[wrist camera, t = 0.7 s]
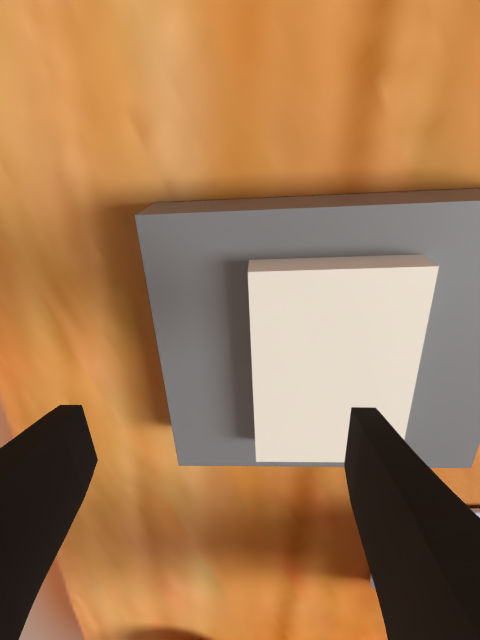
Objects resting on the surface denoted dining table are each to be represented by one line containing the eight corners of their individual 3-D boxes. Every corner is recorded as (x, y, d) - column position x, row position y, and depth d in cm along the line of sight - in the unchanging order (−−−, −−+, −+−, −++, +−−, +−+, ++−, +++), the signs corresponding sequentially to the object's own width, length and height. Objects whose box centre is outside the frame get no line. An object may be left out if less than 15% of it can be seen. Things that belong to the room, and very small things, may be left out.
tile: (390, 440, 19) (399, 462, 18) (256, 439, 20) (256, 461, 18) (423, 254, 15) (439, 266, 13) (248, 259, 15) (247, 272, 14)
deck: (446, 428, 23) (471, 467, 20) (188, 427, 24) (178, 465, 21) (510, 186, 16) (558, 197, 14) (154, 202, 17) (134, 215, 15)
